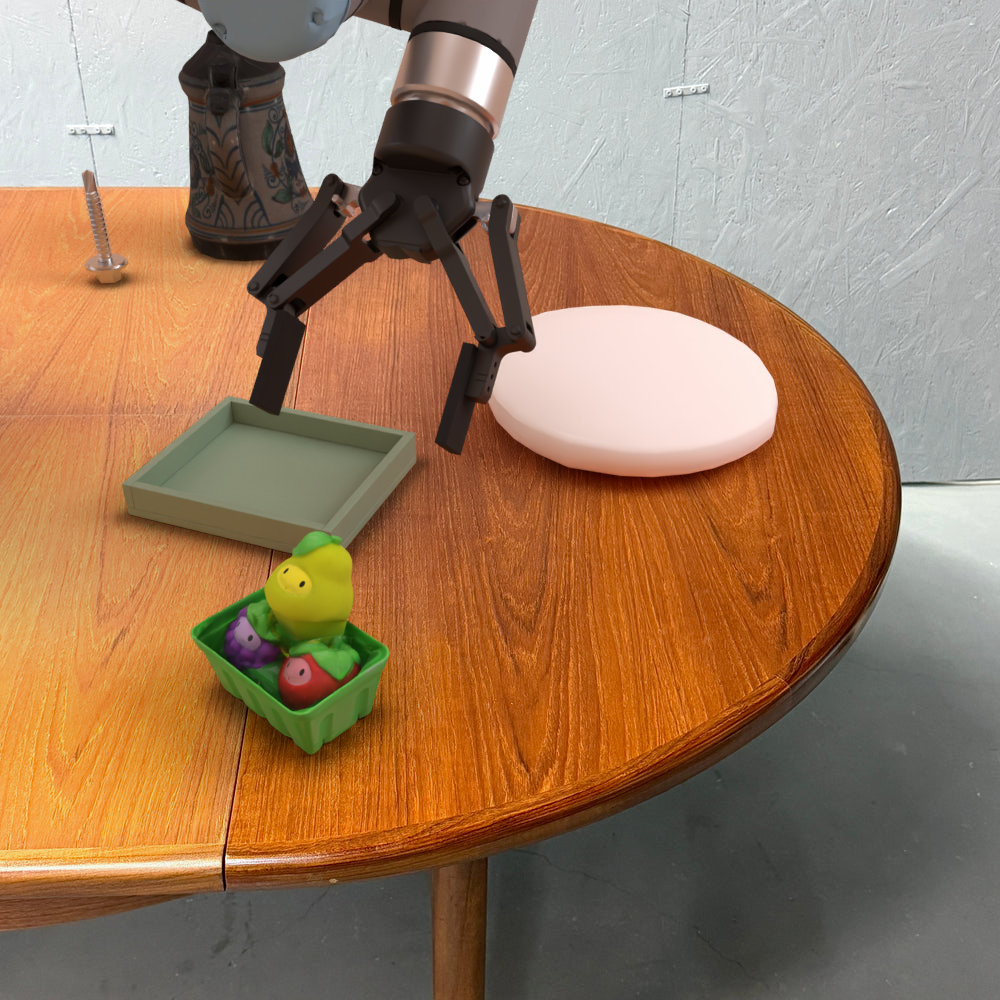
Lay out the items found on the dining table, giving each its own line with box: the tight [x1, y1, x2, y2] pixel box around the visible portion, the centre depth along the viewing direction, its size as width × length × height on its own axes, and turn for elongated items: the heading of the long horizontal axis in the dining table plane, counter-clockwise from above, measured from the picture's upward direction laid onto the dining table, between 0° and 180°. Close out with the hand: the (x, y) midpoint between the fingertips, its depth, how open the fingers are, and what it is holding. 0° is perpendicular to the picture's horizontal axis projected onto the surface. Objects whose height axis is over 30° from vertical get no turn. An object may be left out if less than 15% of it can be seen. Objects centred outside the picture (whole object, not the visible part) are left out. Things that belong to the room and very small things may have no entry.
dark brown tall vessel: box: [177, 28, 315, 262], centre depth 130 cm, size 16×19×25 cm
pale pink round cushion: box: [487, 304, 779, 478], centre depth 100 cm, size 28×6×27 cm
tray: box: [121, 395, 417, 554], centre depth 90 cm, size 19×16×3 cm
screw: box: [81, 169, 129, 284], centre depth 123 cm, size 13×5×5 cm
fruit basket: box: [190, 531, 390, 755], centre depth 67 cm, size 11×9×11 cm
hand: (352, 429), depth 69 cm, fingers open, 13 cm apart
